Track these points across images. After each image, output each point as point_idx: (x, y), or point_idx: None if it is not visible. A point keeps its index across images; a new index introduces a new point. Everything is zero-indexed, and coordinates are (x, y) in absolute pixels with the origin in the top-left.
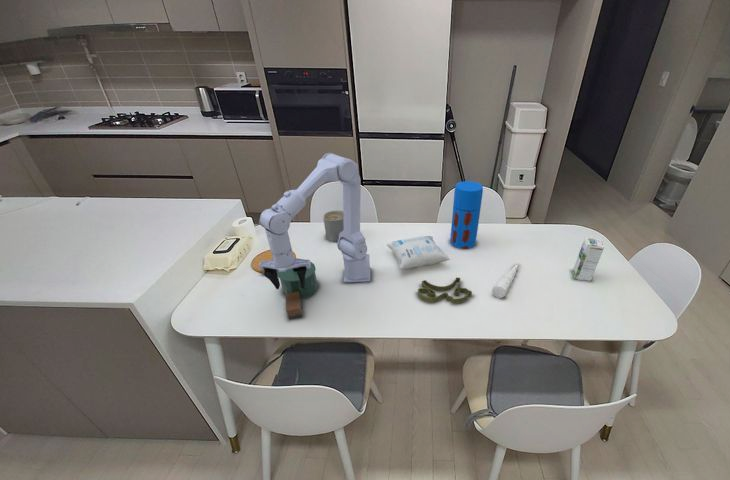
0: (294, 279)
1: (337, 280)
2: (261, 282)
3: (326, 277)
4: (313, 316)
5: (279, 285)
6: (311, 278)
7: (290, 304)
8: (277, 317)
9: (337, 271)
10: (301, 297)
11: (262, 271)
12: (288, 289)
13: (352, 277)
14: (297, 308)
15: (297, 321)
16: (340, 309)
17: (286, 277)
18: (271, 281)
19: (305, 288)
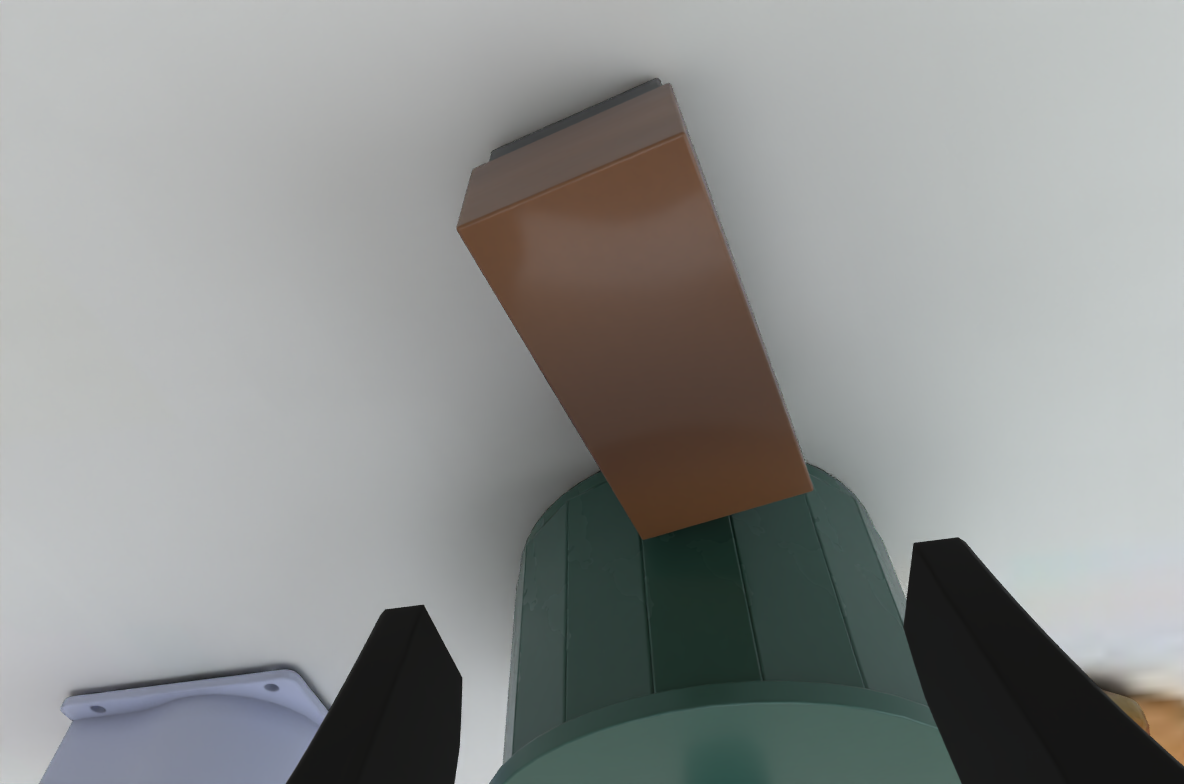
0: (698, 726)
1: None
2: (1130, 605)
3: (500, 698)
4: (328, 181)
5: (914, 629)
6: (512, 729)
7: (666, 297)
8: (859, 99)
9: None
10: None
11: (1136, 716)
12: (792, 555)
13: (201, 729)
14: (501, 215)
15: (515, 43)
16: (58, 345)
17: (838, 743)
18: (1181, 778)
19: (574, 586)
